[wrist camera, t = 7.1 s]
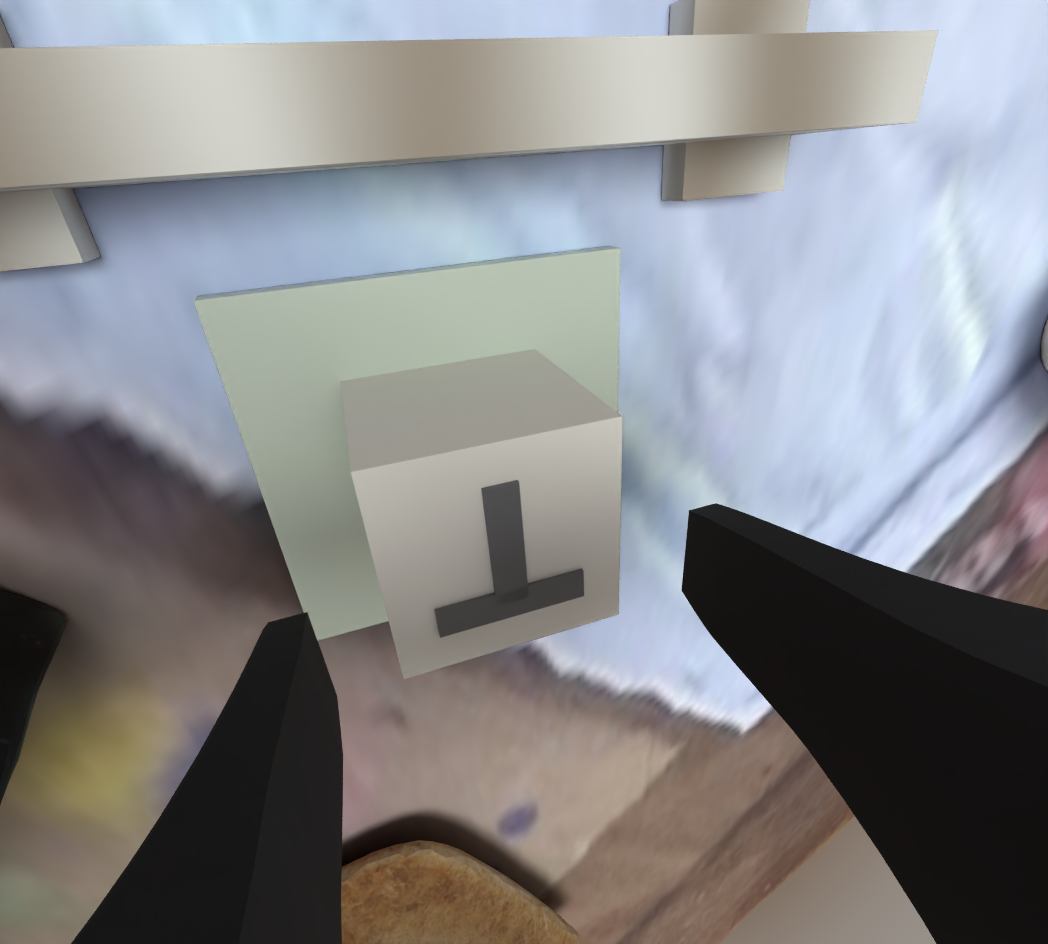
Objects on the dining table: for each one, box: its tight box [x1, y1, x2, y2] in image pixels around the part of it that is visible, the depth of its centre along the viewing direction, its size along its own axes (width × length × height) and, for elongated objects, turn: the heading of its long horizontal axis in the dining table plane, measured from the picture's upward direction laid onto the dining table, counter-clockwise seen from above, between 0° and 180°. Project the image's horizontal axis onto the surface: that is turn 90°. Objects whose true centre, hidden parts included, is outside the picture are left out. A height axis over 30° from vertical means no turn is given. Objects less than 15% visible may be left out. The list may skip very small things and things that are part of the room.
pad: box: [194, 246, 620, 641], centre depth 15 cm, size 10×10×1 cm
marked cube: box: [341, 349, 623, 679], centre depth 13 cm, size 5×5×5 cm
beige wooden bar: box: [0, 0, 938, 271], centre depth 10 cm, size 20×4×4 cm, turn 95°
